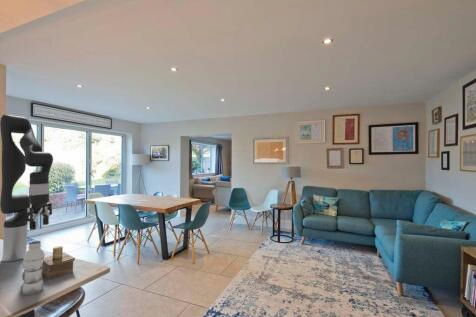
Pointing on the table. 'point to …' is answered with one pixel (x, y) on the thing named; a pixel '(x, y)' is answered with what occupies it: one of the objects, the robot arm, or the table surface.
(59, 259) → the lid
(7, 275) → the table surface
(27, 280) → the plastic bottle
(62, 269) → the box
